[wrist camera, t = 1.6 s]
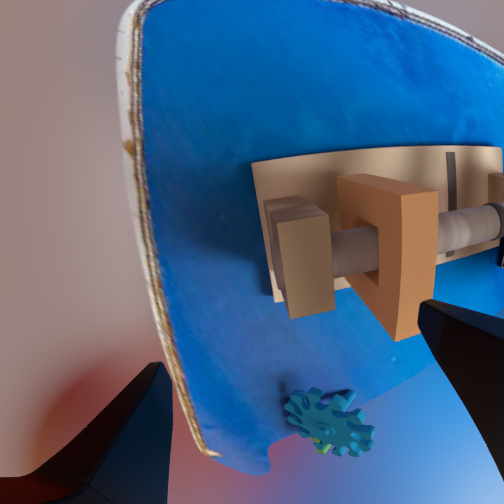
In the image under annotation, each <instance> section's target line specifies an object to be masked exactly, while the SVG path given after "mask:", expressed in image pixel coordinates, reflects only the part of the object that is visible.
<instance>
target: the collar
mask: <svg viewBox="0 0 504 504" xmlns="http://www.w3.org/2000/svg"><path fill="white" fill-rule="evenodd" d="M336 178H337V186H338V196H339V205H340V216H341V228H342V230H346V229H351V228H357V227H363V226H368V225H374V226H376V227H377V228H378V237H379V269H376V270H372V271H368V272H363V273H359V274H354V275H350V276H345V277H344V278H345V279H346V281H347V282H348V283H349V284H350V285H351V287H352V288H353V289H354V290H355V292H356V293H357V294H358V295H359V297H360V298H361V299H362V300H363V302H364V303H365V304H366V305H367V307H368V308H369V309H370V311H371V312H372V313H373V314H374V316H375V317H376V318H377V319H378V321H379V322H380V323H381V325H382V326H383V327H384V329H385V330H386V331H387V332H388V334H389V335H390V336H391V338H392V339H393V340H394V342H396V341H399V340H402V339H405V338H408V337H411V336H414V335H417V334H419V333H421V332H420V330H419V328H418V324H417V319H418V312H419V305H420V303H421V302H422V301H425V300H428V299H432V297H433V290H434V281H435V271H436V260H437V245H438V191H437V190H433V189H430V188H426V187H422V186H418V185H414V184H410V183H406V182H402V181H398V180H394V179H389V178H385V177H380V176H376V175H371V174H366V173H362V174H353V175H345V176H337V177H336Z"/></svg>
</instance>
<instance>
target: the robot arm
mask: <svg viewBox="0 0 504 504" xmlns="http://www.w3.org/2000/svg"><path fill="white" fill-rule="evenodd" d="M499 266H500V267H501V268H502V269H503V268H504V237H503V242H502V250H501V258H500V264H499ZM417 324H418V328H419V330H420V332H421V333H422V335H423V337H424V339H425V341H426V343H427V344H428V346H429V348H430V350H431V352H432V354H433V356H434V358H435V359H436V361H437V363H438V364H439V366H440V367H441V369H442V370H443V372H444V373H445V375H446V376H447V378H448V380H449V381H450V383H451V384H452V386H453V387H454V389H455V391H456V392H457V394H458V396H459V397H460V399H461V400H462V402H463V404H464V405H465V407H466V409H467V410H468V412H469V414H470V416H471V418H472V419H473V421H474V423H475V425H476V426H477V428H478V430H479V432H480V434H481V436H482V437H483V439H484V441H485V443H486V444H487V447H488V449H489V451H490V453H491V455H492V457H493V459H494V461H495V463H496V465H497V468H498V470H499V472H500V474H501V476H502V478H503V481H504V319H502V318H498V317H495V316H491V315H487V314H484V313H480V312H477V311H473V310H469V309H466V308H462V307H459V306H455V305H451V304H448V303H444V302H441V301H437V300H433V299H428V300H425V301H422V302H421V303H420V305H419V312H418V319H417ZM172 403H173V401H172V381H171V379H170V376H169V374H168V372H167V370H166V368H165V366H164V364H163V363H162V362H151V363H149V364H148V365H147V366H146V367H145V368H144V369H143V370H142V371H141V372H140V373H139V374H138V375H137V376H136V377H135V378H134V379H133V380H132V381H131V382H130V383H129V384H128V385H127V386H126V387H125V388H124V389H123V390H122V391H121V392H120V393H119V394H118V395H117V396H116V397H115V398H114V399H113V400H112V401H111V402H110V403H109V404H108V405H107V406H106V407H105V408H104V409H103V410H102V411H101V412H100V413H99V414H98V415H97V416H96V417H95V418H94V419H93V420H92V421H91V422H90V423H89V424H88V425H87V428H86V427H85V428H84V429H83V430H82V431H81V432H80V433H79V434H78V435H77V436H76V437H75V438H73V439H72V440H71V441H70V442H69V443H68V444H67V445H66V446H65V447H63V448H62V449H61V450H60V451H59V452H57V453H56V454H55V455H54V456H53V457H51V458H50V459H49V460H48V461H46V462H45V463H44V464H42V465H41V466H40V467H39V468H37V469H36V470H35V471H34V472H32V473H30V474H28V475H25V476H21V477H0V504H167V496H168V479H169V465H170V464H169V463H170V452H171V441H172V430H173V404H172Z"/></svg>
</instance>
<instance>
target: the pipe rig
mask: <svg viewBox="0 0 504 504" xmlns="http://www.w3.org/2000/svg"><path fill="white" fill-rule="evenodd" d="M251 167H252V173H253V178H254V184H255V190H256V196H257V201H258V207H259V213H260V219H261V225H262V231H263V237H264V243H265V249H266V255H267V261H268V267H269V273H270V279H271V285H272V291H273V297H274V301H275V303H276V302H281V301H284V302H285V305H286V308H287V311H288V314H289V318H290V319H294V318H299V317H304V316H308V315H313V314H318V313H322V312H327V311H331V310H335V293H334V290H339V289H343V288H348V287H351V285H350V284H349V283H348V282H347V281H346V279H345V278H344V277H345V276H350V275H354V274H359V273H363V272H368V271H372V270H376V269H379V237H378V228H377V227H376V226H374V225H368V226H363V227H357V228H351V229H346V230H342V228H341V216H340V205H339V196H338V186H337V178H336V177H337V176H345V175H353V174H362V173H366V174H371V175H376V176H380V177H385V178H389V179H394V180H398V181H402V182H406V183H410V184H414V185H418V186H422V187H426V188H430V189H433V190H437V191H438V245H437V260H436V265H438V264H442V263H445V262H449V261H452V260H456V259H459V258H462V257H466V256H469V255H472V254H475V253H479V252H482V251H485V250H488V249H491V248H494V247H497V246H499V242H500V238H502V237H504V174H503V168H502V149H501V147H491V146H461V145H432V146H400V147H382V148H367V149H355V150H344V151H334V152H325V153H316V154H308V155H300V156H293V157H286V158H279V159H272V160H266V161H260V162H254V163H251Z"/></svg>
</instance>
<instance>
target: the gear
mask: <svg viewBox="0 0 504 504" xmlns="http://www.w3.org/2000/svg"><path fill="white" fill-rule="evenodd" d="M323 395H324V393H323V391H322V390H320V389H317V388H314V387H312V388H311V389H310V390H309V391H308V392H307V394H305V392H304V391H303V390H295V391H294V392H293V393H292V394H291V395H290V398H291V399H290V400H289V401H288V402H287V403H286V404H285V406H284V408H285V409H286V410H288V411H289V412H292V413H291V414H290V415H289V416H288V421H289V422H290V423H291V424H293V425H299V426H301V428H300V429H299V430H298V433H299V434H300V435H301V436H302V437H303V438H307V437H312V440H313V441H314V445H315V446H316V447H317V448H318V449H317V451H318V453H320V454H325V452H326V451H327V450H328V448H329V447H330V446H331V445H334V446H335V447H334V448H333V450H332V453H333V454H335V455H337V456H340V457H341V456H342V455H343V454H344V452H345V451H346V449H345V447H344V446H346V447H348V448H349V452H348V454H349V455H350V456H352V457H359V456H360V455H361V453H362V452H363V451H364V452H366V451H369V450H370V449H371V448H372V447H373V445H374V441H373V440H371V438H372V436H373V434H374V433H375V427H374V426H371V425H361V424H362V423H363V421H364V420H365V418H366V415H365V413H364V412H363V410H362V409H355V410H353V411H350V412H345V410H346V409H347V407H348V406H349V405H350V403H351V402H352V400H353V399H354V397H355V396H356V393H355V392H354V391H353V390H348V392H347V393H346V394H345V396H344V397H342V396H340V395H338V394H335V395H334V396H333V397H332V398H331V400H330V401H329V404H327V405H324V404H322V403H321V402H320V401H319V400H320V399H321V398H322V396H323ZM306 396H307V398H308V400H309V402H310V404H309V403H308V402H307V401H306Z"/></svg>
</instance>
